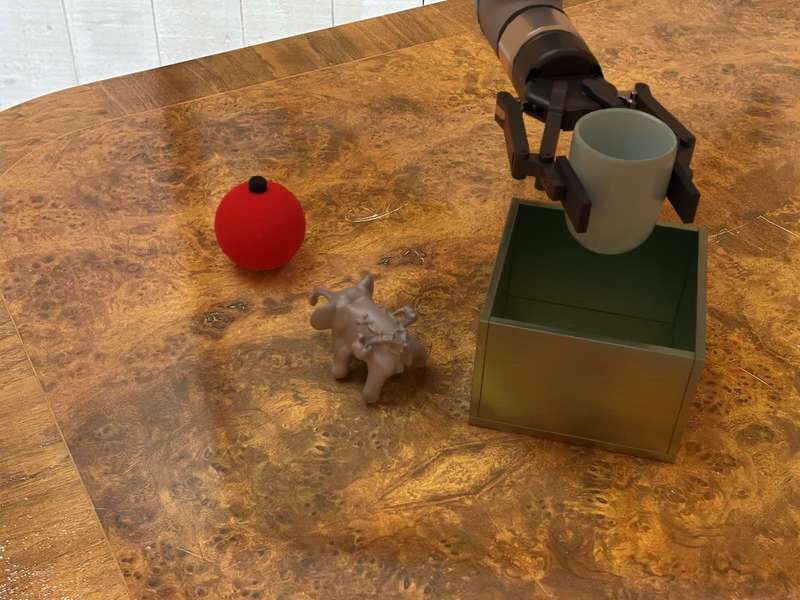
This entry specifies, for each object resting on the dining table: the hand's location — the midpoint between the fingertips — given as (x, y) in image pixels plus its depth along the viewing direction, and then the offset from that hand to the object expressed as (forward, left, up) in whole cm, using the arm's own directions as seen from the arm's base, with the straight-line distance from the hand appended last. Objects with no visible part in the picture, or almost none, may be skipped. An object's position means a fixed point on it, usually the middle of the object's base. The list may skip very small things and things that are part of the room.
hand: (638, 213), depth 80 cm
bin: (+2, -4, -21) cm, 22 cm away
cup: (+2, -4, -6) cm, 8 cm away
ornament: (+35, -12, -21) cm, 43 cm away
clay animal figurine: (+22, 0, -21) cm, 31 cm away
